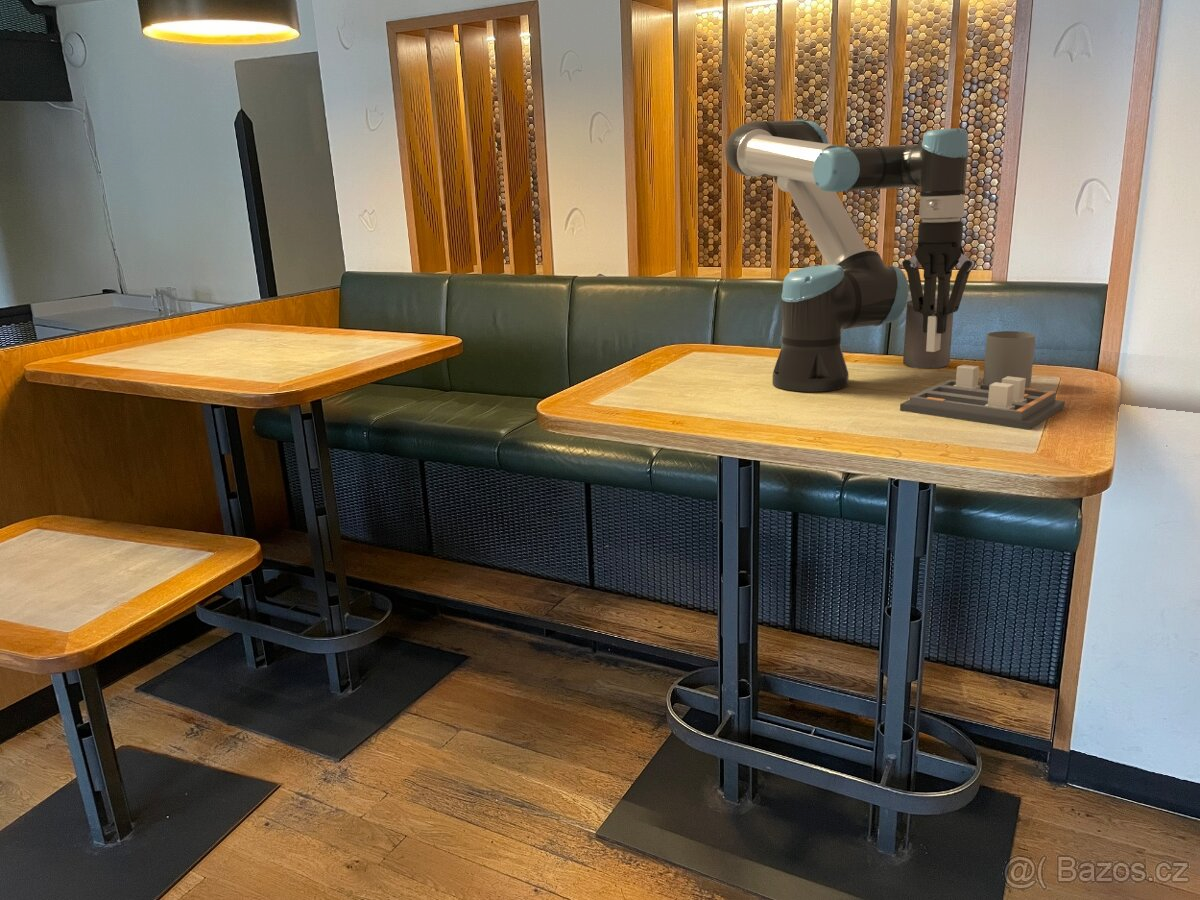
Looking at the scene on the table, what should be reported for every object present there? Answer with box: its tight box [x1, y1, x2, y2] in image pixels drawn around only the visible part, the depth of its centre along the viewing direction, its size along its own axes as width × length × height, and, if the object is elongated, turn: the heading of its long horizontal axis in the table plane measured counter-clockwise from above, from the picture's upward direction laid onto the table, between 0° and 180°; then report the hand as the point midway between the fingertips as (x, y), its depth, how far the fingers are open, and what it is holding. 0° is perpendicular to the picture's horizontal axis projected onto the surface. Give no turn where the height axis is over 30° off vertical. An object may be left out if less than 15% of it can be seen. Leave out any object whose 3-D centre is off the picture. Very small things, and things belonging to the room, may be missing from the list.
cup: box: [982, 330, 1036, 388], centre depth 167 cm, size 8×8×10 cm
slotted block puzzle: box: [899, 379, 1066, 431], centre depth 152 cm, size 22×17×3 cm
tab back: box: [954, 364, 981, 389], centre depth 159 cm, size 4×3×5 cm
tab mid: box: [1002, 376, 1027, 403], centre depth 148 cm, size 4×3×5 cm
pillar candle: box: [902, 298, 954, 370], centre depth 188 cm, size 10×10×15 cm
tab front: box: [985, 382, 1015, 410], centre depth 144 cm, size 4×3×5 cm
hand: (933, 350), depth 162 cm, fingers closed
